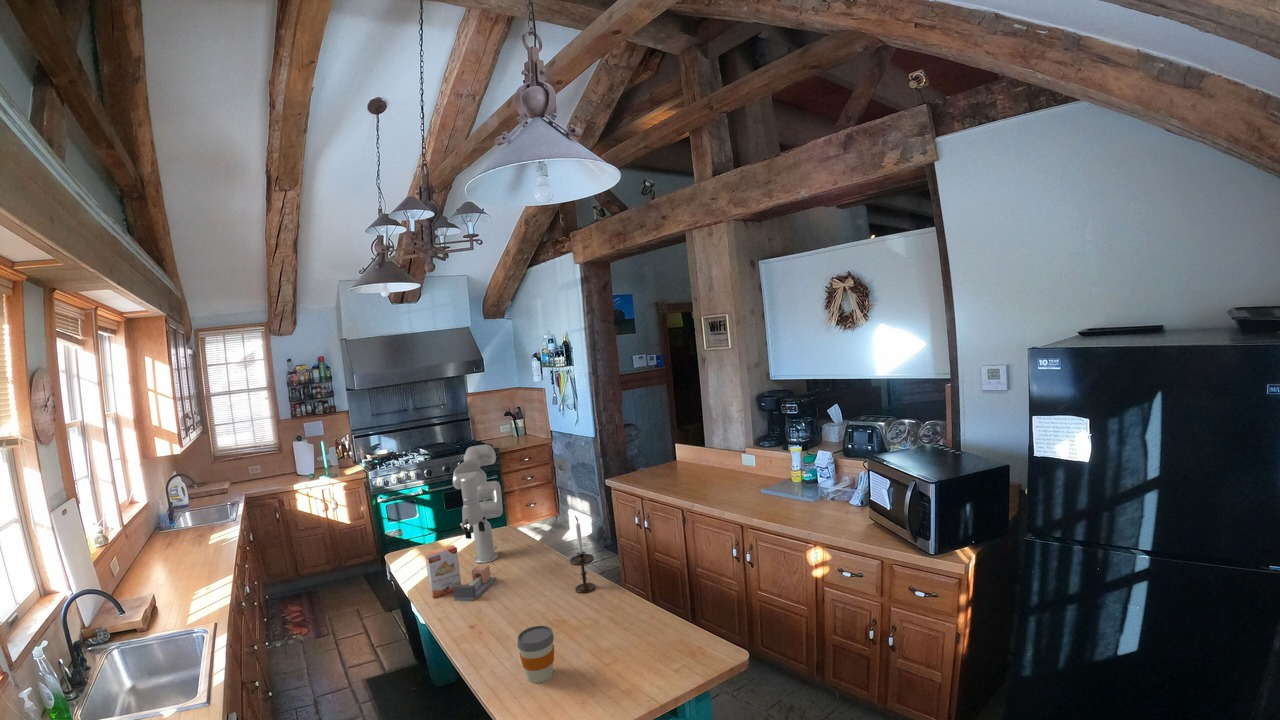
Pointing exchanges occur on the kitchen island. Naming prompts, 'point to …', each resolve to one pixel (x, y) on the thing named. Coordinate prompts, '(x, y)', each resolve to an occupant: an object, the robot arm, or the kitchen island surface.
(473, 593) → the track
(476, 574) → the slider
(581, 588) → the candlestick
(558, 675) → the kitchen island surface
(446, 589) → the cracker box
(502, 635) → the kitchen island surface
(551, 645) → the reusable coffee cup
